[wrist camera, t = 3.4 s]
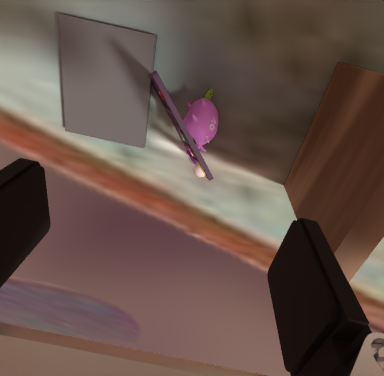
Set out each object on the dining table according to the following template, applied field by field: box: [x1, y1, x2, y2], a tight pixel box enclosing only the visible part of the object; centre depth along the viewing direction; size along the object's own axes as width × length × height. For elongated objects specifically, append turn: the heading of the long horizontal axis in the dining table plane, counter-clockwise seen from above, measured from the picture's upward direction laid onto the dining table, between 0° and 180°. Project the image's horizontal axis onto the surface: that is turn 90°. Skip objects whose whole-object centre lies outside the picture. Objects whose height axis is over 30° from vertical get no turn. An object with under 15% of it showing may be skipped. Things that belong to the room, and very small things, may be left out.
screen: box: [284, 62, 384, 282], centre depth 20 cm, size 2×12×12 cm, turn 169°
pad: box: [58, 14, 157, 148], centre depth 24 cm, size 8×10×1 cm
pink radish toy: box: [148, 71, 219, 181], centre depth 22 cm, size 7×5×9 cm
